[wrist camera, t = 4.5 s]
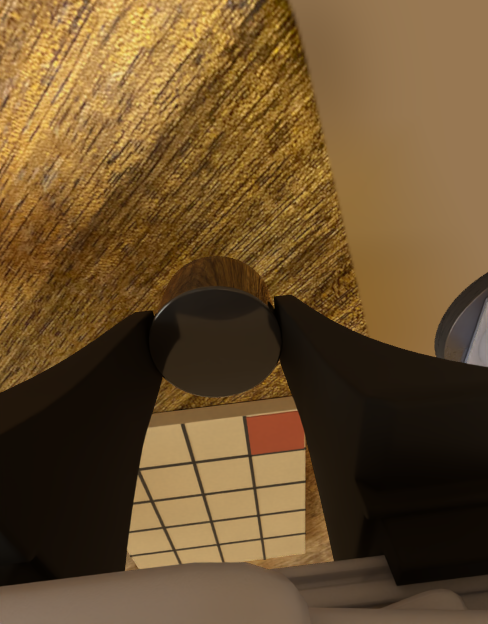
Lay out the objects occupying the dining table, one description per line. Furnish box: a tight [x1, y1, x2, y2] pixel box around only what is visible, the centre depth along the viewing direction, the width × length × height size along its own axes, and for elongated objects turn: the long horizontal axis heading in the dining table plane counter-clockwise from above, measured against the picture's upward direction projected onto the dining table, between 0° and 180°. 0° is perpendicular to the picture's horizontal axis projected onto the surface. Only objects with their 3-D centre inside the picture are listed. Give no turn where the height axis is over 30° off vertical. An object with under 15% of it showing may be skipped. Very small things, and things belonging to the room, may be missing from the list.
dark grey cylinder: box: [148, 256, 283, 398], centre depth 11 cm, size 4×4×3 cm
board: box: [127, 396, 306, 569], centre depth 30 cm, size 20×25×2 cm
